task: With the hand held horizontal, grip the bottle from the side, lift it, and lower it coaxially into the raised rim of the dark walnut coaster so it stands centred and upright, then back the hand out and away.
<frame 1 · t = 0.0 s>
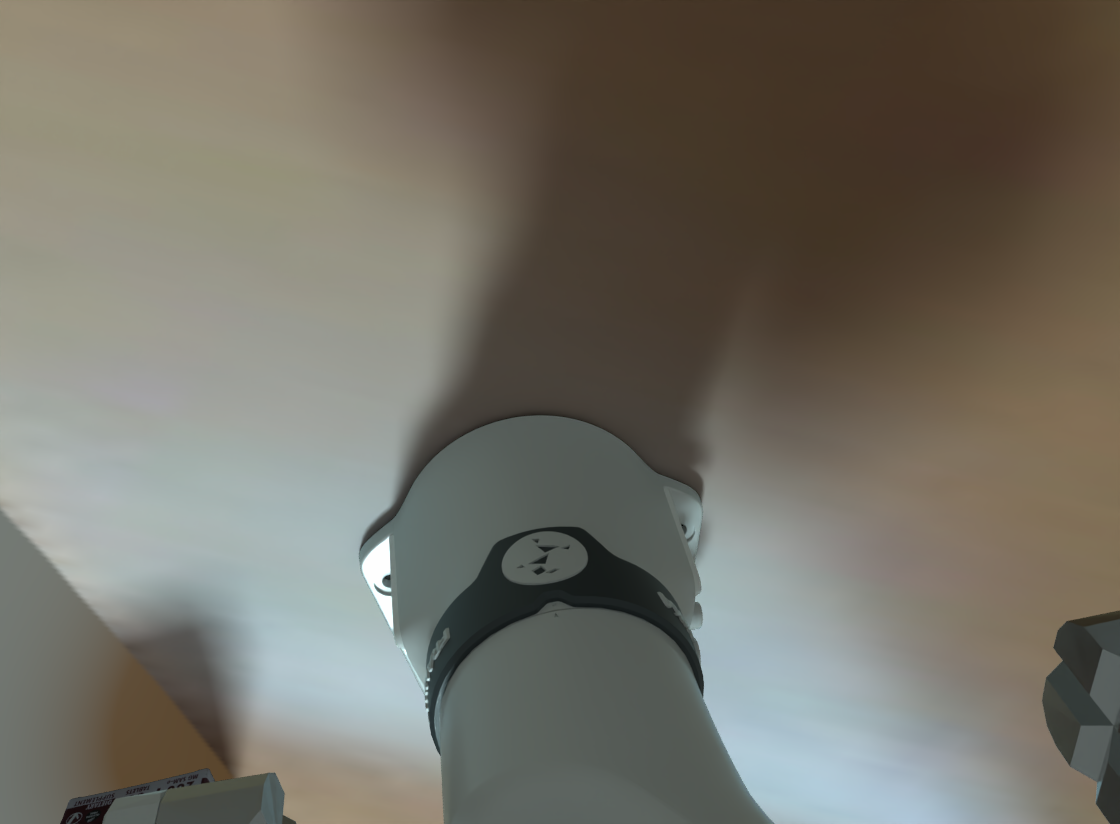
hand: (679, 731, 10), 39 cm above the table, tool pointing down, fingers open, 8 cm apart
supplement box: (152, 804, 61), on the table
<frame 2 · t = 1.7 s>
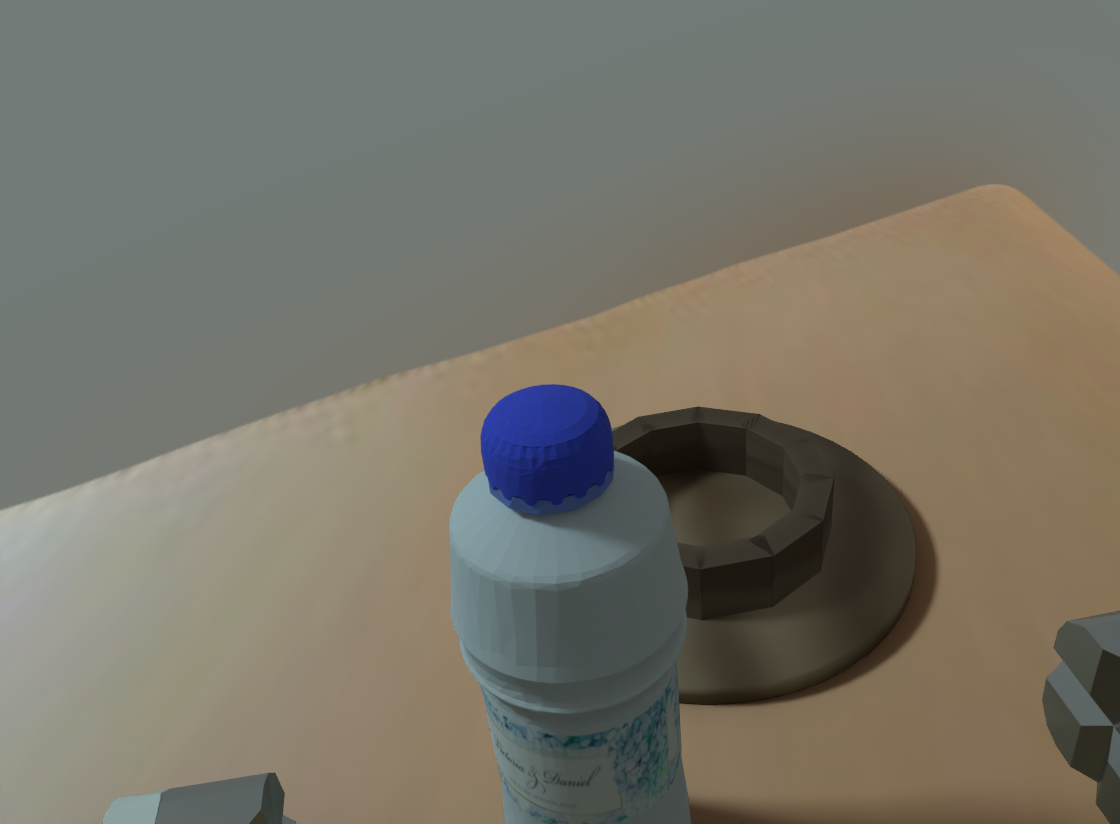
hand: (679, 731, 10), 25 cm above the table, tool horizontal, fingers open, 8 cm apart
coaster: (700, 543, 50), on the table
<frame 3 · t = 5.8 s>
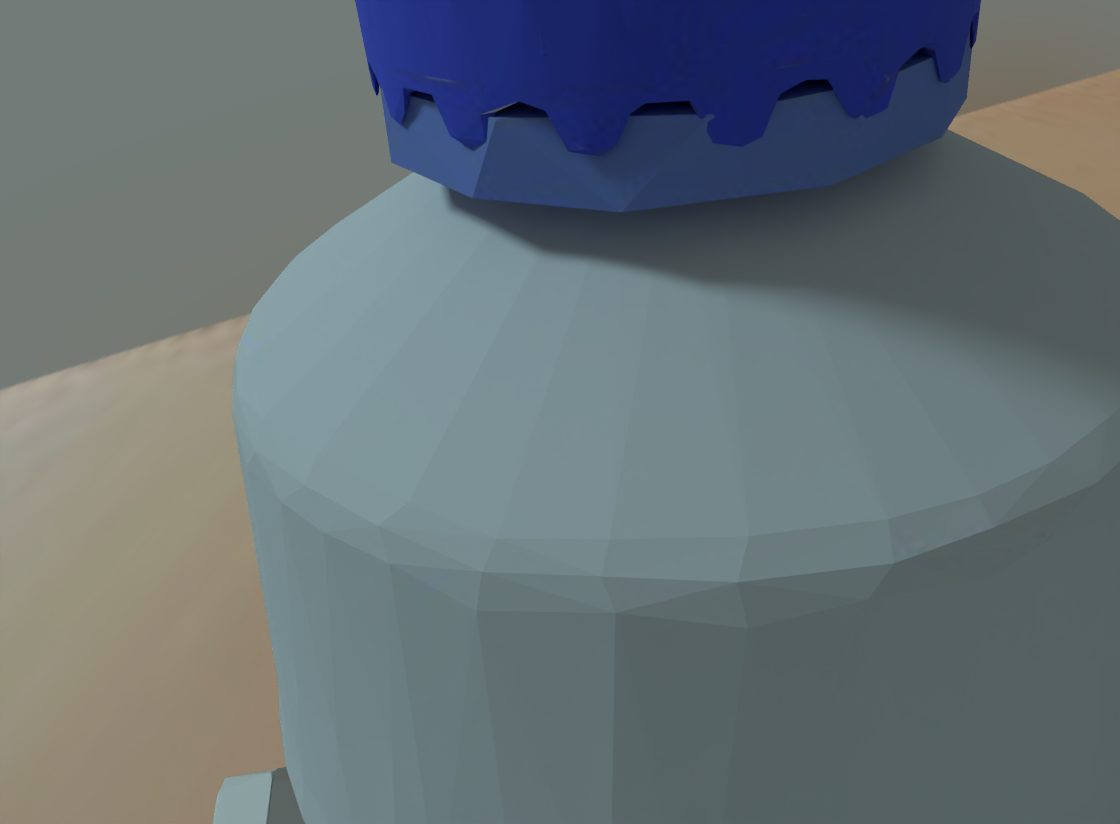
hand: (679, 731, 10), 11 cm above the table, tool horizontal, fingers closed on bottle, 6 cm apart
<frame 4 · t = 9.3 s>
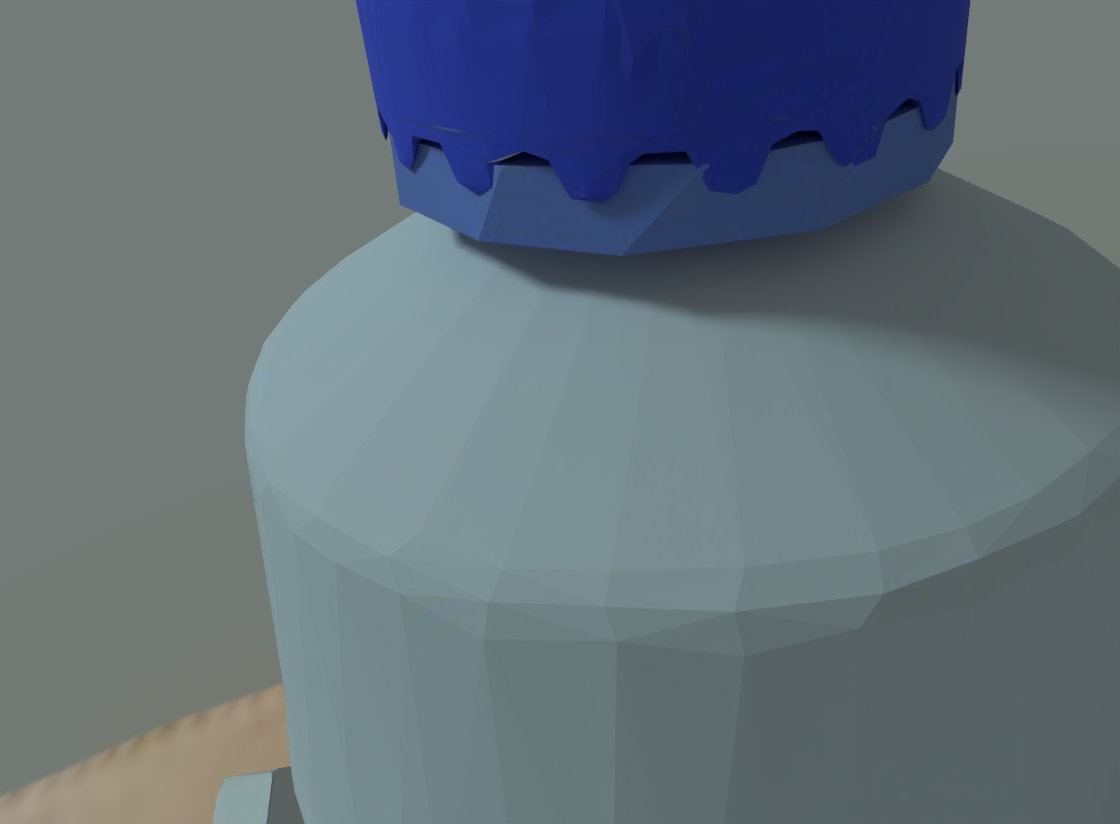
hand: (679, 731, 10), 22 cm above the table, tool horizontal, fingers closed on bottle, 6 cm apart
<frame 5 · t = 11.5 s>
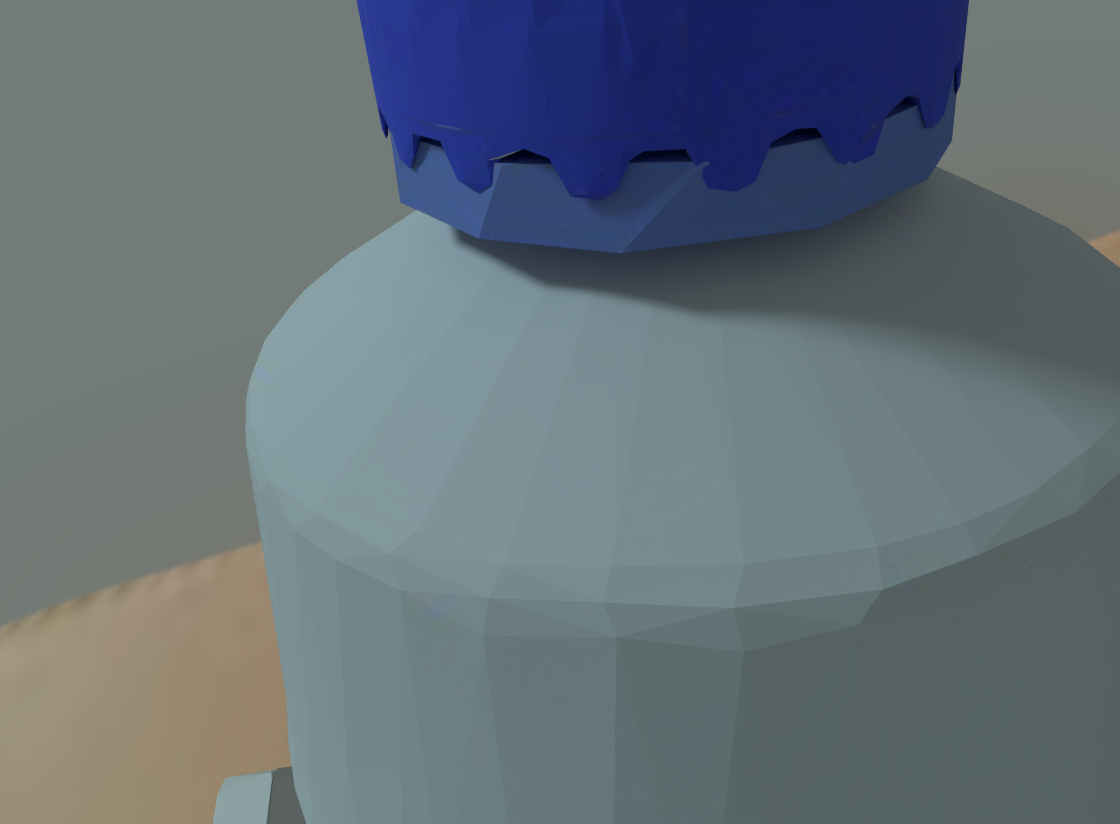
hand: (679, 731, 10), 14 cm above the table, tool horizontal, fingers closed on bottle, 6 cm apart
when the fingers open (13 cm above the table, at t = 12.6 s): bottle drops 1 cm, resting on coaster.
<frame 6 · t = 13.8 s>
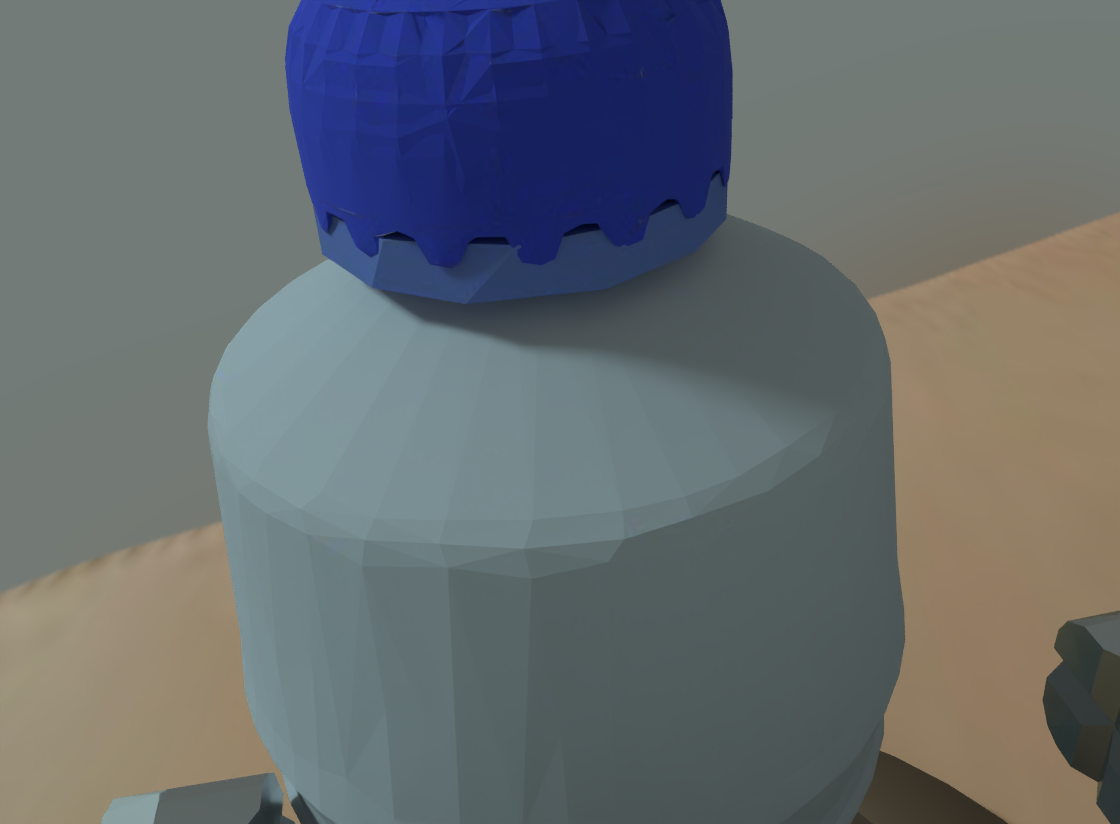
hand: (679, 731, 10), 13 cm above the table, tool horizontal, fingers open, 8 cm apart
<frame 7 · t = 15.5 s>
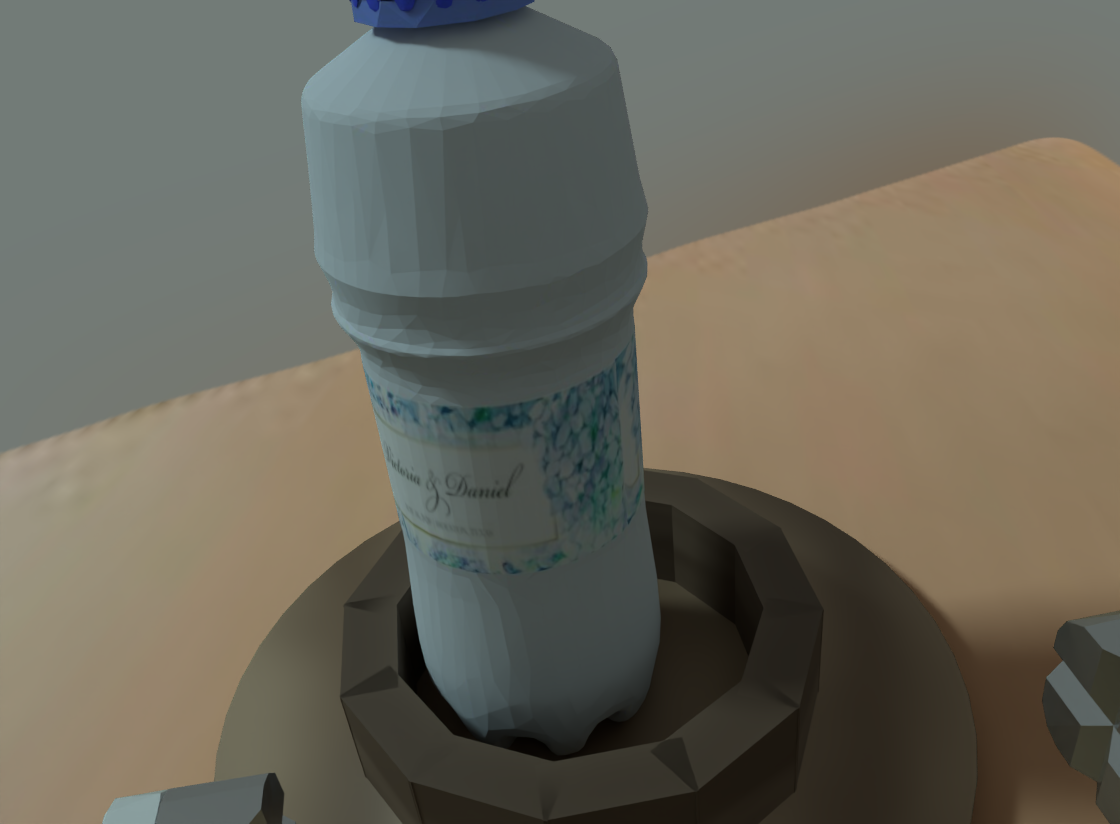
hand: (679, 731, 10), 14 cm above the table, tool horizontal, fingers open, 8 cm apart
bottle: (550, 689, 28), point 1 cm above the table, touching coaster
coaster: (588, 710, 28), on the table
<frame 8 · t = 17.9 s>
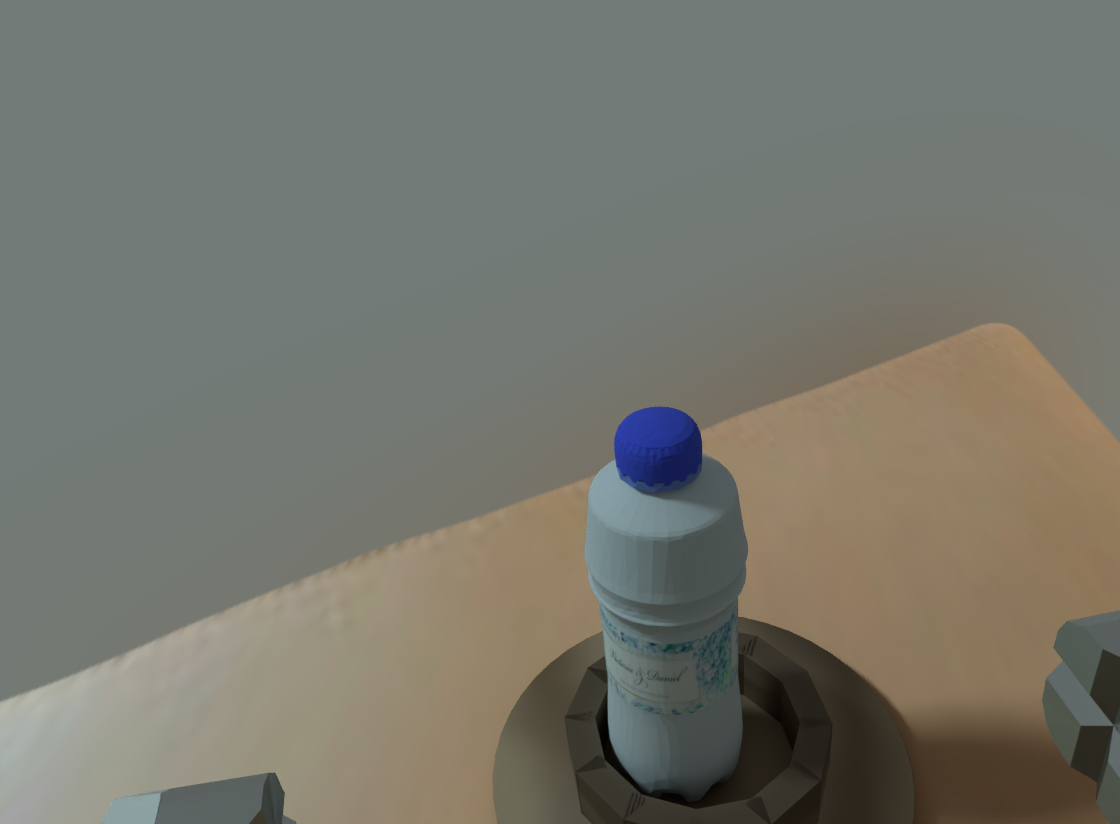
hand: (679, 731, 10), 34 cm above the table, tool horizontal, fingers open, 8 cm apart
bottle: (677, 762, 49), point 1 cm above the table, touching coaster
coaster: (697, 774, 50), on the table
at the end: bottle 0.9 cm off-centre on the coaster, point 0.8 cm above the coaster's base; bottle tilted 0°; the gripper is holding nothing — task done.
